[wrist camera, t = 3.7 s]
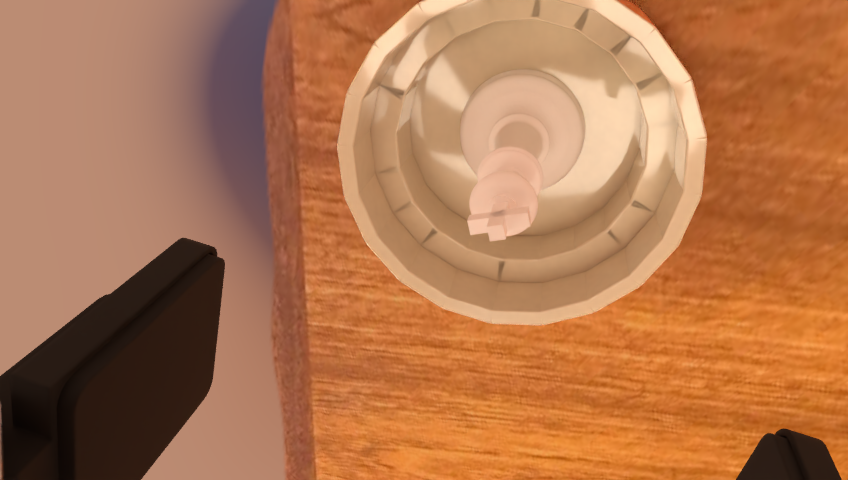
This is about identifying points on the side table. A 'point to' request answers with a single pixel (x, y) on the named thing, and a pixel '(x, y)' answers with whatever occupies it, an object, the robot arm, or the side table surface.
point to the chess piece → (518, 147)
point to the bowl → (557, 205)
